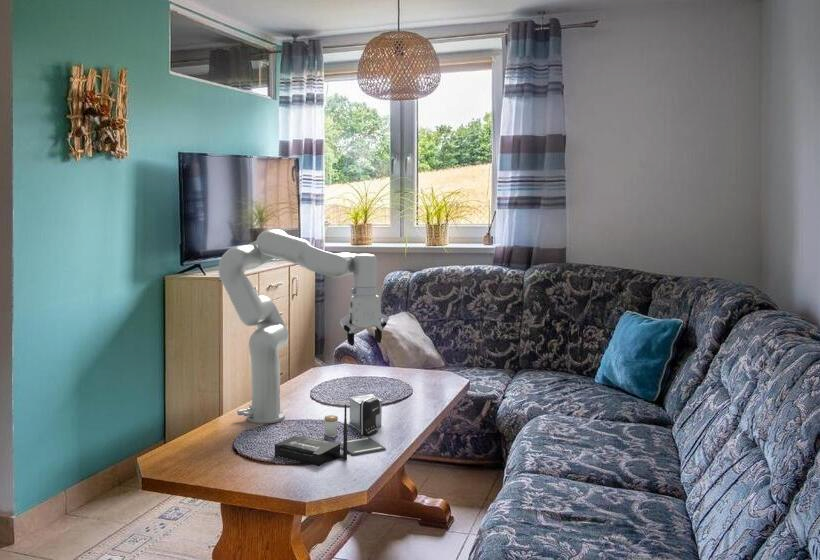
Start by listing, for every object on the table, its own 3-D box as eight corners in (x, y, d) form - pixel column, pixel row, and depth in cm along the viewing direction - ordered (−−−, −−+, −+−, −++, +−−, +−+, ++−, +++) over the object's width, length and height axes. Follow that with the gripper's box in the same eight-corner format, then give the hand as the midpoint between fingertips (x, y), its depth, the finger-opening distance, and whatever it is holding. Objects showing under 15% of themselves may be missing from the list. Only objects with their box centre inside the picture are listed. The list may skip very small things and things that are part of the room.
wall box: (359, 429, 235) (359, 403, 234) (348, 421, 242) (348, 397, 241) (382, 425, 239) (383, 400, 238) (371, 418, 246) (371, 394, 245)
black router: (270, 459, 208) (270, 402, 206) (300, 445, 220) (299, 390, 218) (327, 472, 198) (327, 412, 196) (354, 457, 211) (355, 400, 209)
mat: (352, 455, 210) (352, 453, 210) (337, 444, 220) (337, 442, 220) (385, 450, 216) (385, 447, 216) (369, 439, 225) (369, 436, 225)
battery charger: (369, 437, 226) (369, 402, 225) (359, 435, 228) (359, 400, 227) (381, 431, 232) (381, 397, 231) (371, 429, 234) (371, 395, 233)
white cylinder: (327, 438, 225) (327, 420, 224) (322, 434, 229) (322, 416, 228) (339, 436, 227) (339, 418, 226) (334, 432, 231) (334, 414, 230)
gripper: (345, 294, 225) (345, 348, 227) (393, 291, 234) (393, 343, 236) (335, 291, 232) (335, 343, 234) (383, 289, 240) (382, 339, 242)
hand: (364, 343), depth 235 cm, fingers open, 9 cm apart
